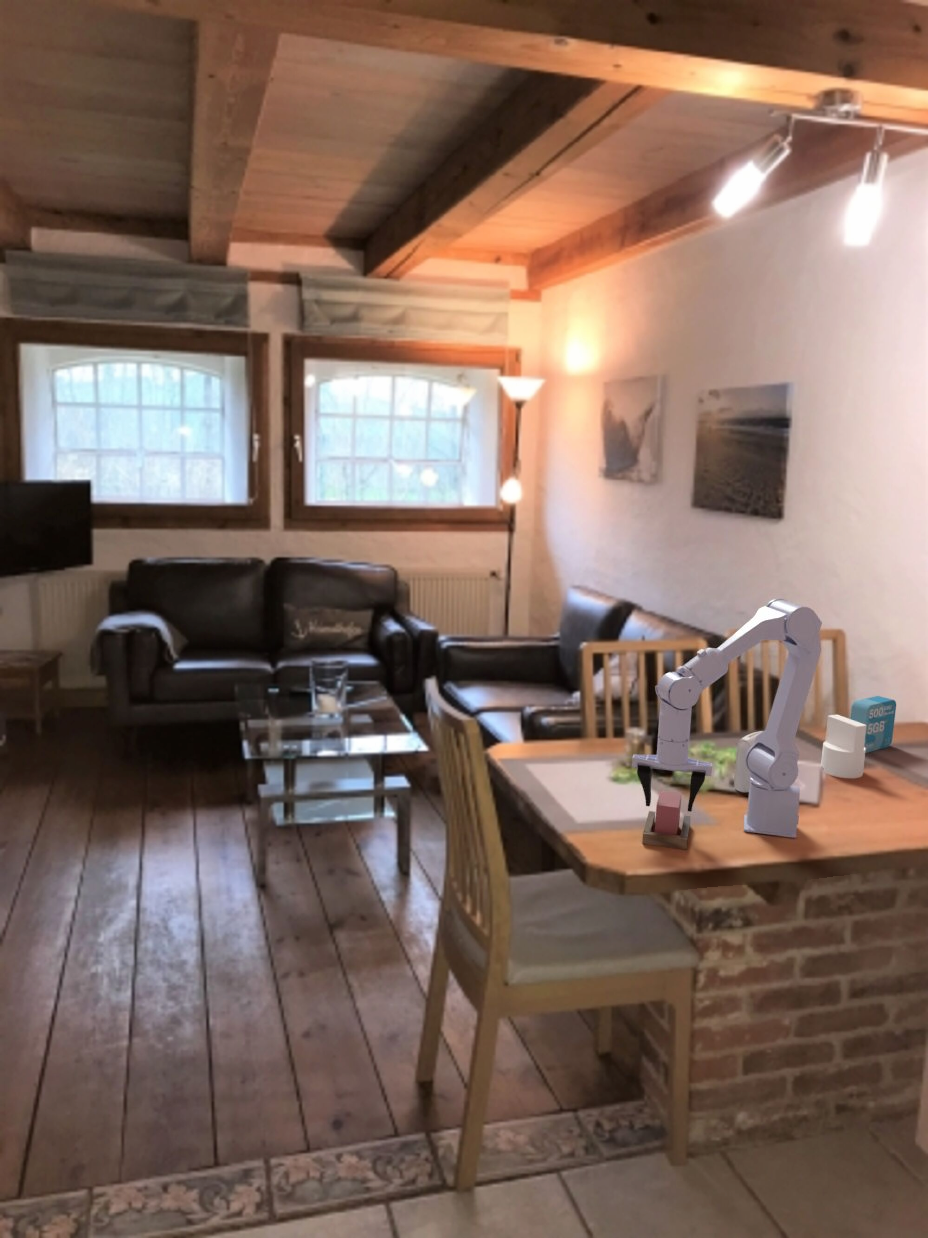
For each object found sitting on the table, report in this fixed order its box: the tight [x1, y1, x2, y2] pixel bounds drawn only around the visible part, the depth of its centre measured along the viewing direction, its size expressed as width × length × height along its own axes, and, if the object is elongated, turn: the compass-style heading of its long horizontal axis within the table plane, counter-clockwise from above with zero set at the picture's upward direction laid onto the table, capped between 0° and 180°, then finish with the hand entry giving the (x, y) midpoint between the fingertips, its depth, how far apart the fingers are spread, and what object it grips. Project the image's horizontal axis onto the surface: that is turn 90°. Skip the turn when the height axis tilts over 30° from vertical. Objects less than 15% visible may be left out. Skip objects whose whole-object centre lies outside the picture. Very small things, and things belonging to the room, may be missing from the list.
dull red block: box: [654, 789, 682, 836], centre depth 189 cm, size 4×8×7 cm, turn 164°
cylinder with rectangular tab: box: [820, 714, 867, 779], centre depth 226 cm, size 9×9×12 cm
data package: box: [849, 695, 897, 754], centre depth 244 cm, size 12×4×12 cm, turn 125°
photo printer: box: [733, 730, 764, 794], centre depth 214 cm, size 10×4×12 cm, turn 123°
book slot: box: [641, 810, 691, 851], centre depth 189 cm, size 8×11×2 cm
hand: (668, 807), depth 188 cm, fingers open, 7 cm apart
